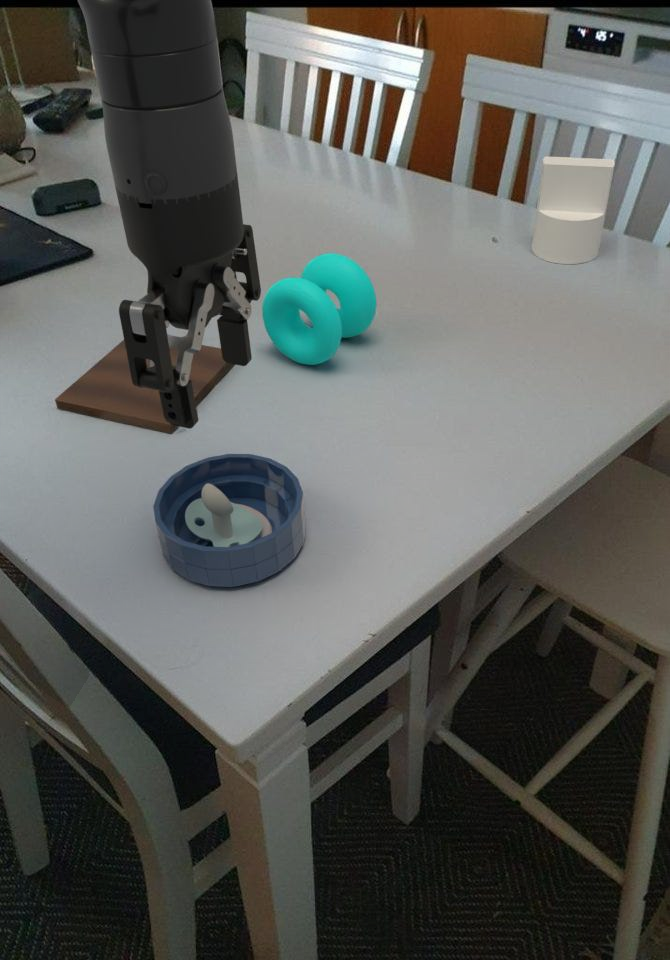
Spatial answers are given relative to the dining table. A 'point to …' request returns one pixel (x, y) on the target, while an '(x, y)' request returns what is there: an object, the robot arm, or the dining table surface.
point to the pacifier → (225, 520)
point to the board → (136, 389)
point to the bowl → (242, 484)
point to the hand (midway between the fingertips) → (211, 391)
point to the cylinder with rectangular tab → (571, 208)
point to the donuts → (319, 308)
